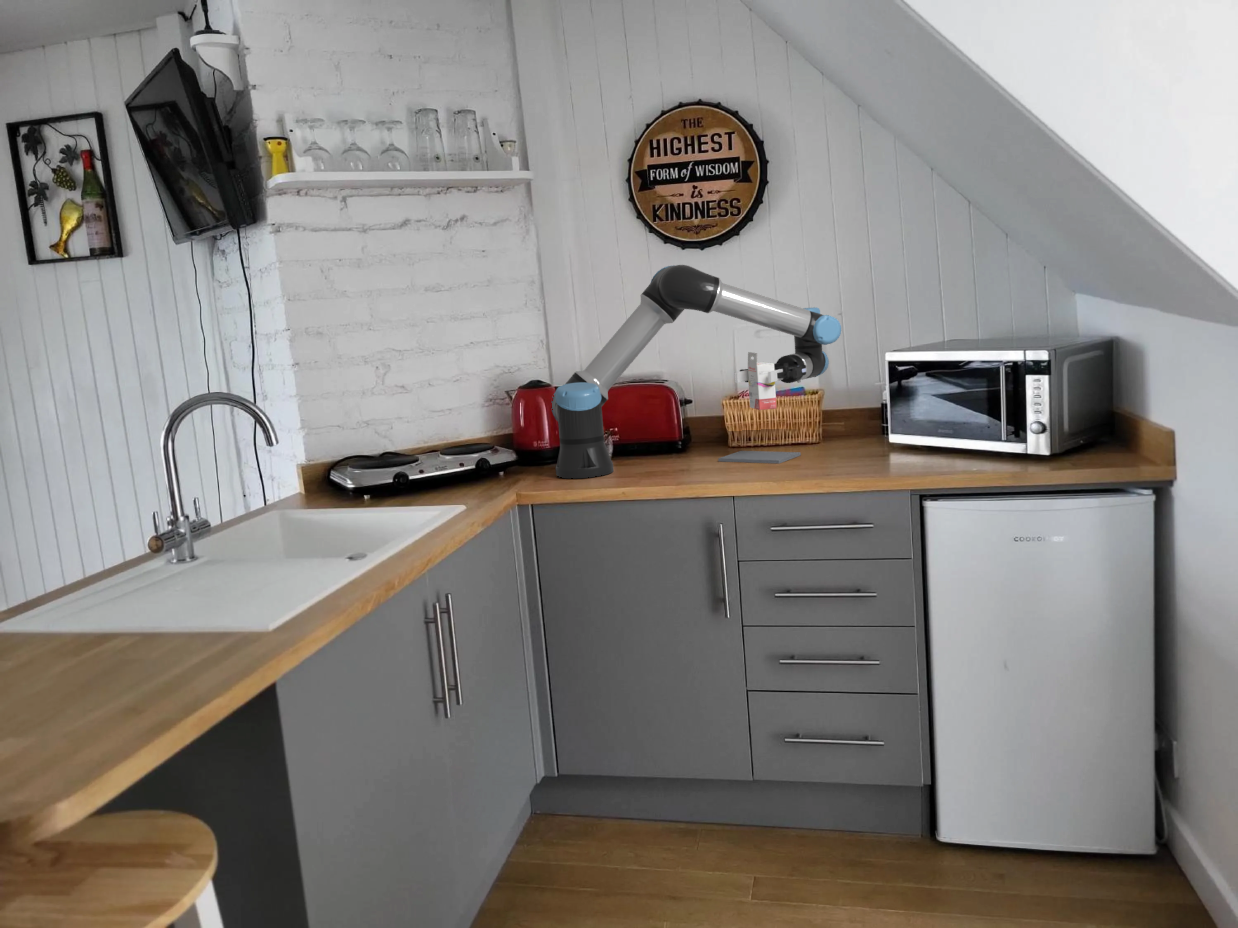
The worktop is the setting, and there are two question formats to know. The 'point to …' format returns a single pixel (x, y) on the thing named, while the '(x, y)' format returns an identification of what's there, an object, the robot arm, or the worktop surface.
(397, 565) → the worktop surface
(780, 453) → the charcoal mat
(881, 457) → the worktop surface
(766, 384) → the ink cartridge box
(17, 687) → the worktop surface
